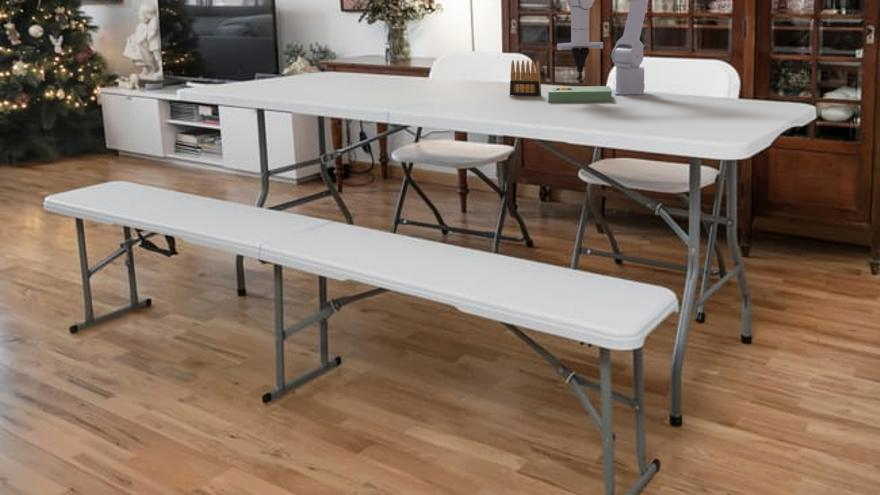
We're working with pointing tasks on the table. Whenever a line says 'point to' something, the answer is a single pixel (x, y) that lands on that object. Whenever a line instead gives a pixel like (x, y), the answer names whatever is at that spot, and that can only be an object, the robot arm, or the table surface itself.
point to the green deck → (580, 94)
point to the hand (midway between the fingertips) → (579, 71)
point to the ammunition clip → (525, 80)
